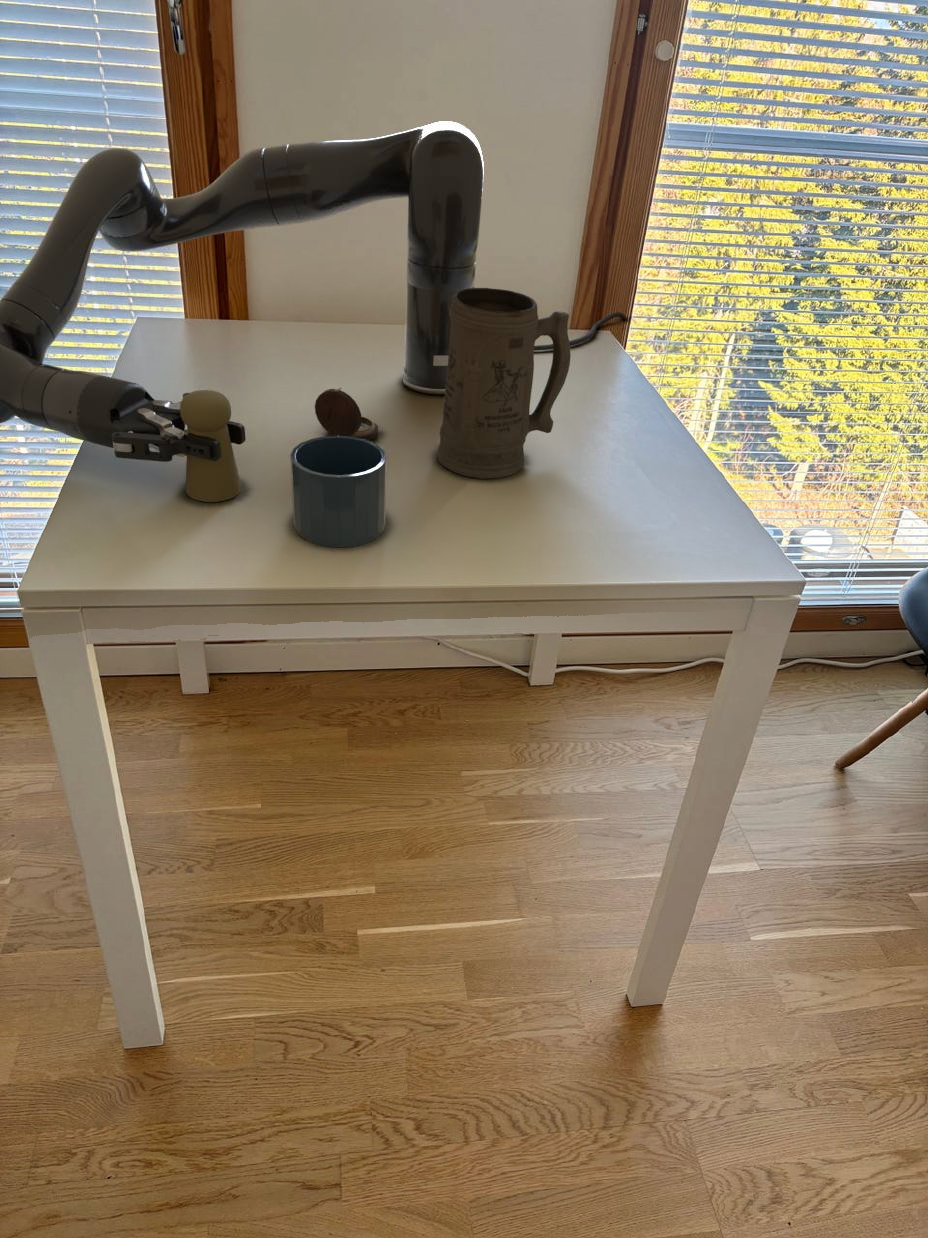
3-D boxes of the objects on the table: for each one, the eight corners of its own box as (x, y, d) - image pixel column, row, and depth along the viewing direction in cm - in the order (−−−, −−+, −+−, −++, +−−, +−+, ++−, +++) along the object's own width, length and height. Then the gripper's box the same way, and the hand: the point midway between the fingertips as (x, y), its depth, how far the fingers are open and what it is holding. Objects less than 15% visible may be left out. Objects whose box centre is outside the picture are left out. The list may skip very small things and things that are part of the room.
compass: (386, 430, 117) (387, 375, 112) (356, 453, 111) (356, 396, 106) (333, 416, 119) (332, 362, 115) (300, 438, 113) (298, 382, 109)
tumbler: (358, 495, 102) (358, 429, 97) (401, 533, 95) (403, 465, 91) (279, 514, 97) (275, 445, 92) (319, 556, 91) (317, 484, 86)
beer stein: (456, 486, 105) (480, 312, 94) (417, 448, 113) (435, 283, 101) (565, 474, 112) (600, 311, 101) (521, 439, 119) (549, 283, 108)
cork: (228, 505, 98) (219, 409, 91) (175, 496, 98) (163, 400, 92) (250, 480, 102) (243, 388, 96) (199, 472, 103) (189, 380, 97)
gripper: (45, 398, 93) (187, 434, 88) (134, 357, 104) (265, 387, 99) (59, 465, 97) (195, 502, 93) (143, 418, 108) (268, 449, 104)
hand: (230, 442), depth 96 cm, fingers closed on cork, 4 cm apart
